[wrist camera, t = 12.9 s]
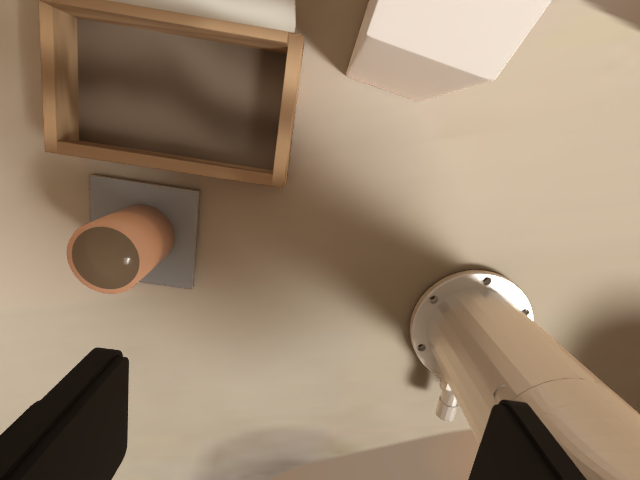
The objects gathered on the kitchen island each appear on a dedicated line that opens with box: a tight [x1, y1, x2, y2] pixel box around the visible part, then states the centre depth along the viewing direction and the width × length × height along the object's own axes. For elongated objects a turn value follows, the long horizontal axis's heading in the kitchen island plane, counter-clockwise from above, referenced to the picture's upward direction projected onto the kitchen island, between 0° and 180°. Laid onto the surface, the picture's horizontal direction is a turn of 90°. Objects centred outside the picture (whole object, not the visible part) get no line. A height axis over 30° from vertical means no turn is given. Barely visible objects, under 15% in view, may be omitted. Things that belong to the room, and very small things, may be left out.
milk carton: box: [346, 0, 552, 101], centre depth 24 cm, size 7×7×19 cm
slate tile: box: [90, 175, 200, 289], centre depth 37 cm, size 10×10×1 cm
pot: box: [67, 204, 175, 294], centre depth 33 cm, size 6×6×7 cm
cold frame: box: [39, 0, 304, 188], centre depth 26 cm, size 16×20×16 cm
